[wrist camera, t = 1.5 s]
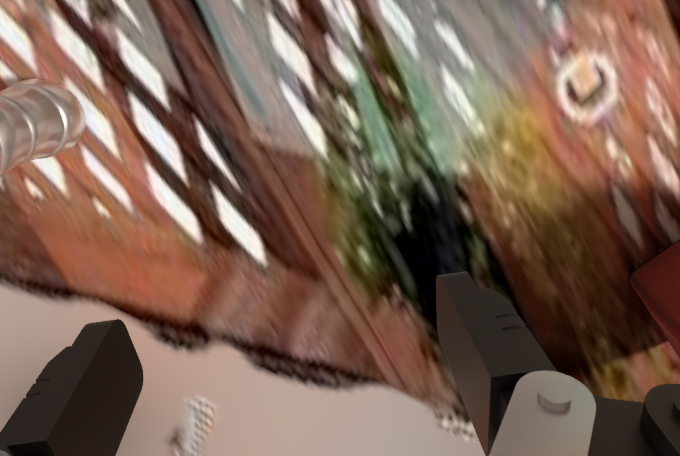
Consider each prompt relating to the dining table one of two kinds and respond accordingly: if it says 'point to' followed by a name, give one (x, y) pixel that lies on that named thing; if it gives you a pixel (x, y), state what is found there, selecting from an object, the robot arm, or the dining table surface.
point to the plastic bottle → (37, 122)
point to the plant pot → (662, 291)
